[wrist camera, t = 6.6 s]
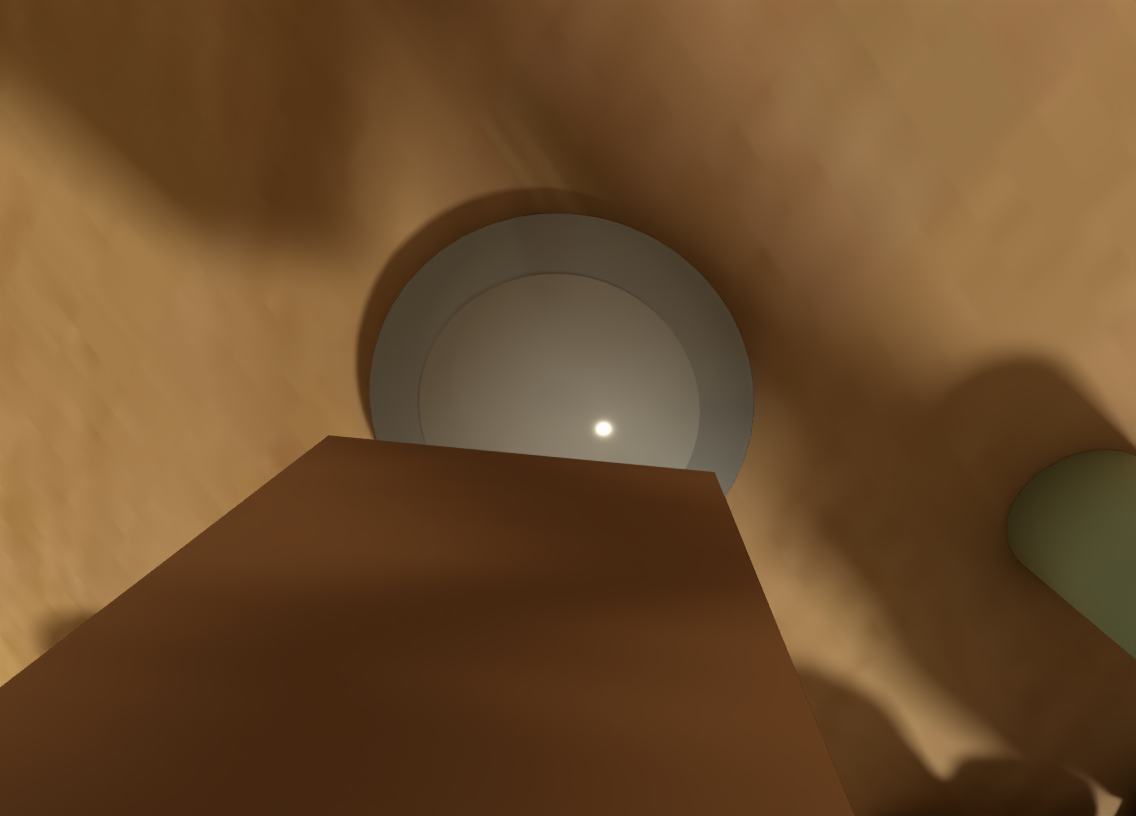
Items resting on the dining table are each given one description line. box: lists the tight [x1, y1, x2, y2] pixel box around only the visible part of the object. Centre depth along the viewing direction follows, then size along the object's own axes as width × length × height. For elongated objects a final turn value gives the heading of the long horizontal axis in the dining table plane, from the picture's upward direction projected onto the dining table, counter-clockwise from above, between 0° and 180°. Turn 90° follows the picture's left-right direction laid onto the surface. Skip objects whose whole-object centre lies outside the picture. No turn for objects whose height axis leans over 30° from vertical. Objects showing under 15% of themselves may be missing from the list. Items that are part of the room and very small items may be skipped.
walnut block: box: [0, 436, 855, 816], centre depth 6 cm, size 5×5×5 cm
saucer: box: [370, 214, 754, 497], centre depth 16 cm, size 11×11×1 cm
